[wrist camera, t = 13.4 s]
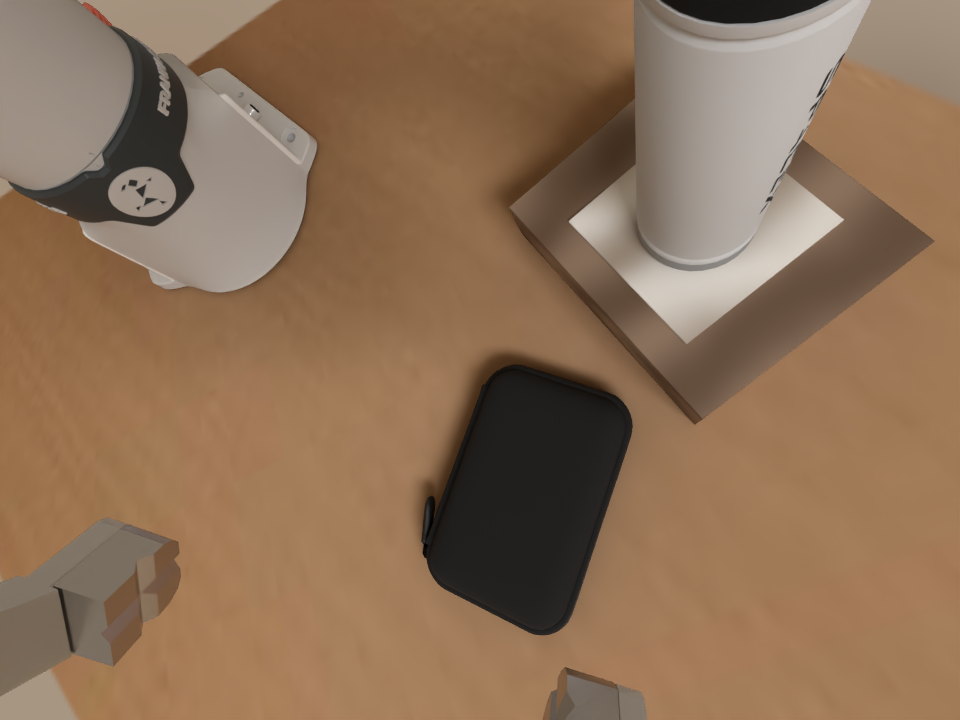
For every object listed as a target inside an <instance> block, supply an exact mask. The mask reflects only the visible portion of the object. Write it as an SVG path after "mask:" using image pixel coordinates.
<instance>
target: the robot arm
mask: <svg viewBox="0 0 960 720" xmlns="http://www.w3.org/2000/svg"><path fill="white" fill-rule="evenodd" d="M316 150H317V142H316V140H315V139H314V138H313V137H312V136H311V135H310V134H308V133H307V132H306V131H304V130H303V129H302V128H301V127H299V126H298V125H297V124H295V123H294V122H293V121H291V120H290V119H289V118H288V117H286V116H285V115H284V114H282V113H281V112H280V111H278V110H277V109H276V108H275V107H273V106H272V105H271V104H269V103H268V102H267V101H265V100H264V99H263V98H262V97H260V96H259V95H258V94H256V93H255V92H254V91H253V90H251V89H250V88H249V87H247V86H246V85H245V84H243V83H242V82H241V81H240V80H238V79H237V78H236V77H234V76H233V75H232V74H230V73H229V72H228V71H226V70H225V69H223V68H217V69H213V70H211V71H208V72H206V73H204V74H202V75H200V76H197V75H196V74H195V73H194V72H193V71H192V70H191V69H190V68H188V67H187V66H186V65H185V64H184V63H183V62H182V61H180V60H179V59H178V58H177V57H176V56H175V55H173V54H168V53H165V54H158V55H156V53H154V52H153V51H152V50H151V49H150V48H149V47H148V46H146V45H145V44H144V43H142V42H141V41H139V40H138V39H136V38H134V37H131V36H130V35H128V34H127V33H125V32H124V31H123V30H121V29H119V28H116V27H114V26H112V24H111V23H110V22H109V21H108V20H107V19H106V18H105V17H104V16H103V15H102V14H101V13H100V12H99V11H98V10H96V9H95V8H94V7H93V6H91V5H89V4H87V3H83V4H81V3H79V2H78V1H77V0H0V177H1V178H3V179H5V180H7V181H8V182H9V184H10V185H11V186H12V187H13V188H14V189H15V190H16V191H18V192H19V193H20V194H22V195H24V196H27V197H29V198H31V199H33V200H35V202H37V203H38V204H40V205H41V206H44V207H46V208H48V209H50V210H52V211H55V212H57V213H62V214H65V215H67V216H70V217H72V218H74V219H77V220H78V221H79V224H80V226H81V227H82V229H83V231H82V232H83V234H84V235H85V236H86V237H87V238H89V239H90V240H92V241H94V242H95V243H97V244H99V245H101V246H103V247H105V248H107V249H109V250H111V251H113V252H115V253H117V254H119V255H121V256H123V257H125V258H127V259H129V260H132V261H134V262H136V263H138V264H140V265H142V266H144V267H146V268H148V270H149V274H150V278H151V280H152V282H153V283H154V284H156V285H158V286H160V287H162V288H164V289H176V288H181V287H185V286H191V287H196V288H199V289H202V290H205V291H209V292H228V291H233V290H237V289H240V288H243V287H245V286H247V285H249V284H251V283H253V282H255V281H256V280H258V279H259V278H261V277H262V276H264V275H265V274H266V273H267V272H268V271H270V270H271V269H272V268H273V267H274V266H275V265H276V264H277V263H278V262H279V260H280V259H281V258H282V257H283V256H284V254H285V253H286V251H287V250H288V248H289V247H290V245H291V244H292V242H293V240H294V238H295V236H296V234H297V232H298V230H299V227H300V224H301V222H302V218H303V214H304V210H305V204H306V184H307V176H308V172H309V170H310V168H311V165H312V163H313V160H314V157H315V154H316ZM178 554H179V544H178V541H175V540H172V539H169V538H166V537H163V536H160V535H157V534H155V533H152V532H149V531H146V530H143V529H140V528H137V527H134V526H132V525H129V524H126V523H123V522H120V521H117V520H114V519H111V518H105V519H103V520H100V521H98V522H96V523H95V524H93V525H92V526H91V527H90V528H88V529H87V530H86V531H85V532H83V533H82V534H81V535H79V536H78V537H77V538H76V539H74V540H73V541H72V542H71V543H69V544H68V545H67V546H66V547H64V548H63V549H62V550H60V551H59V552H58V553H57V554H55V555H54V556H53V557H52V558H50V559H49V560H48V561H46V562H45V563H44V564H43V565H41V566H40V567H39V568H38V569H36V570H35V571H34V572H33V573H31V574H30V575H29V576H27V577H26V578H25V577H22V576H16V577H14V578H11V579H8V580H5V581H2V582H0V696H2V695H3V694H5V693H7V692H9V691H11V690H12V689H14V688H16V687H18V686H20V685H21V684H23V683H25V682H26V681H29V680H30V679H32V678H34V677H36V676H37V675H39V674H41V673H43V672H45V671H47V670H48V669H50V668H52V667H54V666H56V665H57V664H59V663H61V662H63V661H65V660H66V659H68V658H70V657H71V656H72V654H75V655H78V656H81V657H84V658H88V659H91V660H94V661H97V662H100V663H104V664H107V665H110V666H113V667H114V665H115V664H116V663H117V662H118V661H119V660H120V659H121V658H122V657H123V655H124V654H125V653H126V652H127V651H128V650H129V649H130V648H131V646H132V645H133V644H134V643H135V642H136V641H137V640H138V639H139V637H140V636H141V634H142V626H143V623H144V622H146V621H148V620H151V619H153V618H155V617H157V616H159V615H160V614H161V612H162V611H163V610H164V609H165V608H166V607H167V605H168V604H169V603H170V601H171V600H172V598H173V596H174V594H175V592H176V591H177V589H178V586H179V582H180V578H181V572H180V568H179V566H178V565H177V563H176V562H175V561H174V559H175V558H176V557H177V556H178ZM71 653H72V654H71ZM543 720H647V715H646V707H645V699H644V697H643V695H642V693H641V692H640V691H637V690H634V689H630V688H627V687H624V686H621V685H617V684H614V682H611V681H608V680H605V679H601V678H598V677H595V676H592V675H588V674H585V673H582V672H579V671H575V670H572V669H569V668H566V667H565V668H563V669H562V670H561V672H560V674H559V676H558V685H557V690H554V691H552V692H551V694H550V696H549V699H548V701H547V704H546V708H545V712H544V716H543Z"/></svg>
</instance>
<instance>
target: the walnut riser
mask: <svg viewBox="0 0 960 720" xmlns="http://www.w3.org/2000/svg"><path fill="white" fill-rule="evenodd" d="M509 208H510V210H511V212H512V214H513V216H514V218H515V220H516V222H517V224H518V226H519V228H520V230H521V232H522V234H523V235H524V236H525V237H526V238H527V240H528V241H529V242H530V243H531V244H532V245H533V246H534V247H535V248H536V250H537V251H538V252H539V253H540V254H541V255H542V256H543V257H544V258H545V259H546V261H547V262H548V263H549V264H550V265H551V266H552V267H553V268H554V269H555V271H556V272H557V273H558V274H559V275H560V276H561V277H562V278H563V279H564V280H565V282H566V283H567V284H568V285H569V286H570V287H571V288H572V289H573V290H574V292H575V293H576V294H577V295H578V296H579V297H580V298H581V299H582V300H583V301H584V303H585V304H586V305H587V306H588V307H589V308H590V309H591V310H592V311H593V313H594V314H595V315H596V316H597V317H598V318H599V319H600V320H601V321H602V323H603V324H604V325H605V326H606V327H607V328H608V329H609V330H610V331H611V332H612V334H613V335H614V336H615V337H616V338H617V339H618V340H619V341H620V342H621V344H622V345H623V346H624V347H625V348H626V349H627V350H628V351H629V352H630V353H631V355H632V356H633V357H634V358H635V359H636V360H637V361H638V362H639V363H640V365H641V366H642V367H643V368H644V369H645V370H646V371H647V372H648V373H649V374H650V376H651V377H652V378H653V379H654V380H655V381H656V382H657V383H658V384H659V386H660V387H661V388H662V389H663V390H664V391H665V392H666V393H667V394H668V395H669V397H670V398H671V399H672V400H673V401H674V402H675V403H676V404H677V405H678V407H679V408H680V409H681V410H682V411H683V412H684V413H685V414H686V415H687V416H688V418H689V419H690V420H691V421H692V422H693V423H694V424H696V423H698V422H699V421H701V420H702V419H703V418H705V417H706V416H707V415H708V414H710V413H711V412H712V411H714V410H715V409H716V408H718V407H719V406H720V405H722V404H723V403H724V402H725V401H727V400H728V399H729V398H731V397H732V396H733V395H735V394H736V393H737V392H739V391H740V390H741V389H742V388H744V387H745V386H746V385H748V384H749V383H750V382H752V381H753V380H754V379H756V378H757V377H758V376H759V375H761V374H762V373H763V372H765V371H766V370H767V369H769V368H770V367H771V366H772V365H774V364H775V363H776V362H778V361H779V360H780V359H782V358H783V357H784V356H786V355H787V354H788V353H789V352H791V351H792V350H793V349H795V348H796V347H797V346H799V345H800V344H801V343H803V342H804V341H805V340H806V339H808V338H809V337H810V336H812V335H813V334H814V333H816V332H817V331H818V330H820V329H821V328H822V327H823V326H825V325H826V324H827V323H829V322H830V321H831V320H833V319H834V318H835V317H836V316H838V315H839V314H840V313H842V312H843V311H844V310H846V309H847V308H848V307H850V306H851V305H852V304H853V303H855V302H856V301H857V300H859V299H860V298H861V297H863V296H864V295H865V294H867V293H868V292H869V291H870V290H872V289H873V288H874V287H876V286H877V285H878V284H880V283H881V282H882V281H884V280H885V279H886V278H887V277H889V276H890V275H891V274H893V273H894V272H895V271H897V270H898V269H899V268H901V267H902V266H903V265H904V264H906V263H907V262H908V261H910V260H911V259H912V258H914V257H915V256H916V255H917V254H919V253H920V252H921V251H923V250H924V249H925V248H927V247H928V246H929V245H931V244H932V243H933V242H934V240H933V239H932V238H930V237H929V236H928V235H926V234H925V233H924V232H922V231H921V230H920V229H918V228H917V227H916V226H915V225H913V224H912V223H911V222H909V221H908V220H907V219H905V218H904V217H903V216H901V215H900V214H899V213H898V212H896V211H895V210H894V209H892V208H891V207H890V206H888V205H887V204H886V203H885V202H883V201H882V200H881V199H879V198H878V197H877V196H875V195H874V194H873V193H871V192H870V191H869V190H868V189H866V188H865V187H864V186H862V185H861V184H860V183H858V182H857V181H856V180H855V179H853V178H852V177H851V176H849V175H848V174H847V173H845V172H844V171H843V170H841V169H840V168H839V167H838V166H836V165H835V164H834V163H832V162H831V161H830V160H828V159H827V158H826V157H825V156H823V155H822V154H821V153H819V152H818V151H817V150H815V149H814V148H813V147H811V146H810V145H809V144H808V143H806V142H805V141H804V140H801V142H800V144H799V146H798V148H797V150H796V152H795V154H794V156H793V158H792V161H791V163H790V165H789V167H788V169H787V171H786V173H785V175H784V177H783V179H782V181H781V183H780V185H779V187H778V189H777V191H776V193H775V195H774V197H773V199H772V201H771V203H770V205H769V207H768V209H767V211H766V213H765V215H764V217H763V219H762V221H761V223H760V225H759V226H758V229H757V231H756V233H755V235H754V237H753V239H752V240H751V242H750V243H749V245H748V246H747V247H746V249H745V250H744V251H743V252H741V253H740V254H739V255H738V256H737V257H736V258H734V259H733V260H731V261H729V262H728V263H726V264H724V265H721V266H719V267H716V268H713V269H709V270H704V271H684V270H678V269H674V268H671V267H668V266H666V265H664V264H662V263H661V262H659V261H657V260H656V259H655V258H654V257H652V256H651V255H650V254H649V253H648V251H647V250H646V249H645V248H644V246H643V245H642V242H641V240H640V238H639V235H638V231H637V212H636V133H635V99H634V100H633V101H631V102H630V103H629V104H628V105H627V106H626V107H624V108H623V109H622V110H621V111H620V112H619V113H618V114H616V115H615V116H614V117H613V118H612V119H611V120H609V121H608V122H607V123H606V124H605V125H604V126H603V127H601V128H600V129H599V130H598V131H597V132H596V133H594V134H593V135H592V136H591V137H590V138H589V139H588V140H586V141H585V142H584V143H583V144H582V145H581V146H579V147H578V148H577V149H576V150H575V151H574V152H573V153H571V154H570V155H569V156H568V157H567V158H566V159H564V160H563V161H562V162H561V163H560V164H559V165H558V166H556V167H555V168H554V169H553V170H552V171H551V172H549V173H548V174H547V175H546V176H545V177H544V178H542V179H541V180H540V181H539V182H538V183H537V184H536V185H534V186H533V187H532V188H531V189H530V190H529V191H527V192H526V193H525V194H524V195H523V196H522V197H521V198H519V199H518V200H517V201H516V202H515V203H514V204H512V205H511V206H510V207H509Z"/></svg>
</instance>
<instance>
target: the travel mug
mask: <svg viewBox="0 0 960 720" xmlns="http://www.w3.org/2000/svg"><path fill="white" fill-rule="evenodd" d="M870 2H871V0H634V54H635V133H636V212H637V231H638V235H639V238H640V240H641V242H642V245H643V246H644V248H645V249H646V250H647V251H648V253H649V254H650V255H651V256H652V257H654V258H655V259H656V260H657V261H659V262H661V263H662V264H664V265H666V266H668V267H671V268H674V269H678V270H684V271H704V270H709V269H713V268H716V267H719V266H721V265H724V264H726V263H728V262H729V261H731V260H733V259H734V258H736V257H737V256H738V255H739V254H740V253H741V252H743V251H744V250H745V249H746V247H747V246H748V245H749V243H750V242H751V240H752V239H753V237H754V235H755V233H756V231H757V229H758V226H759V225H760V223H761V221H762V219H763V217H764V215H765V213H766V211H767V209H768V207H769V205H770V203H771V201H772V199H773V197H774V195H775V193H776V191H777V189H778V187H779V185H780V183H781V181H782V179H783V177H784V175H785V173H786V171H787V169H788V167H789V165H790V163H791V161H792V158H793V156H794V154H795V152H796V150H797V148H798V146H799V144H800V142H801V140H802V138H803V136H804V134H805V132H806V130H807V128H808V126H809V124H810V122H811V120H812V118H813V116H814V114H815V112H816V110H817V108H818V106H819V104H820V102H821V100H822V98H823V96H824V94H825V92H826V90H827V88H828V86H829V84H830V82H831V80H832V78H833V76H834V74H835V72H836V70H837V68H838V66H839V64H840V62H841V60H842V58H843V56H844V54H845V52H846V50H847V48H848V46H849V44H850V42H851V40H852V38H853V36H854V34H855V32H856V30H857V28H858V26H859V24H860V22H861V20H862V17H863V16H864V14H865V12H866V10H867V8H868V6H869V4H870Z"/></svg>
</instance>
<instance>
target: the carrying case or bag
mask: <svg viewBox="0 0 960 720" xmlns="http://www.w3.org/2000/svg"><path fill="white" fill-rule="evenodd" d="M632 428H633V425H632V419H631V415H630V412H629V410H628V408H627V407H626V405H625V404H624V403H623V402H622V401H621V400H620V399H619V398H618V397H616V396H615V395H613V394H610V393H608V392H604V391H601V390H598V389H595V388H592V387H589V386H586V385H583V384H580V383H576V382H573V381H570V380H567V379H564V378H561V377H558V376H555V375H551V374H548V373H545V372H542V371H539V370H536V369H533V368H530V367H527V366H523V365H510V366H506V367H504V368H501V369H500V370H498V371H496V372H495V373H494V374H493V375H492V376H491V377H490V378H489V379H488V381H487V382H486V384H485V385H483V386H482V388H481V393H480V395H479V398H478V401H477V404H476V406H475V409H474V412H473V415H472V417H471V420H470V423H469V425H468V428H467V431H466V434H465V436H464V439H463V442H462V444H461V447H460V450H459V453H458V455H457V458H456V461H455V464H454V466H453V469H452V472H451V474H450V477H449V480H448V483H447V485H446V488H445V491H444V494H443V496H442V499H441V502H440V504H439V507H438V510H437V513H436V515H435V518H434V511H435V499H434V497H433V496H430V497H428V499H427V502H426V505H425V511H424V520H423V531H422V540H421V541H422V543H423V544H424V546H423V555H424V558H427V564H428V567H429V570H430V573H431V575H432V576H433V578H434V579H435V581H436V582H437V583H438V584H439V585H440V586H441V587H442V588H444V589H445V590H447V591H449V592H451V593H453V594H455V595H457V596H459V597H461V598H463V599H465V600H467V601H469V602H471V603H473V604H475V605H477V606H479V607H481V608H482V609H484V610H486V611H488V612H490V613H492V614H494V615H496V616H498V617H500V618H502V619H504V620H506V621H508V622H510V623H512V624H514V625H516V626H518V627H520V628H521V629H523V630H525V631H527V632H529V633H532V634H535V635H549V634H553V633H555V632H557V631H559V630H560V629H562V628H563V627H564V626H565V625H566V624H567V623H568V621H569V619H570V617H571V615H572V613H573V610H574V607H575V605H576V602H577V599H578V596H579V593H580V590H581V587H582V584H583V581H584V578H585V574H586V571H587V568H588V565H589V562H590V559H591V556H592V553H593V550H594V547H595V544H596V541H597V538H598V535H599V532H600V529H601V526H602V522H603V519H604V517H605V514H606V511H607V508H608V505H609V502H610V499H611V496H612V493H613V490H614V487H615V484H616V481H617V478H618V475H619V472H620V469H621V466H622V463H623V460H624V457H625V454H626V451H627V447H628V444H629V441H630V438H631V434H632ZM433 518H434V521H433ZM425 544H426V545H425Z"/></svg>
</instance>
